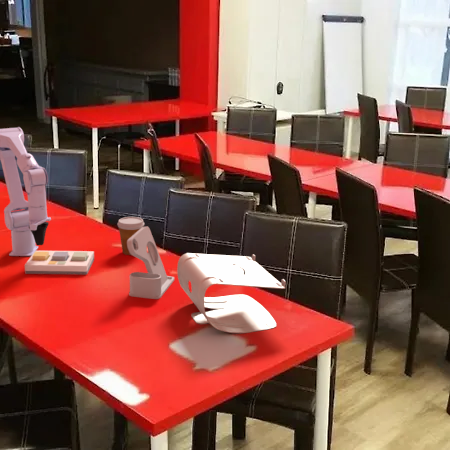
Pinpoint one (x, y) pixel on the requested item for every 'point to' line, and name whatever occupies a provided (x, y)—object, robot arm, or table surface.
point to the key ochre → (40, 256)
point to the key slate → (60, 256)
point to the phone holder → (147, 267)
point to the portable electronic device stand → (233, 304)
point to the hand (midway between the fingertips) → (40, 244)
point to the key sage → (80, 256)
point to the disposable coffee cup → (128, 230)
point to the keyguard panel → (59, 264)
